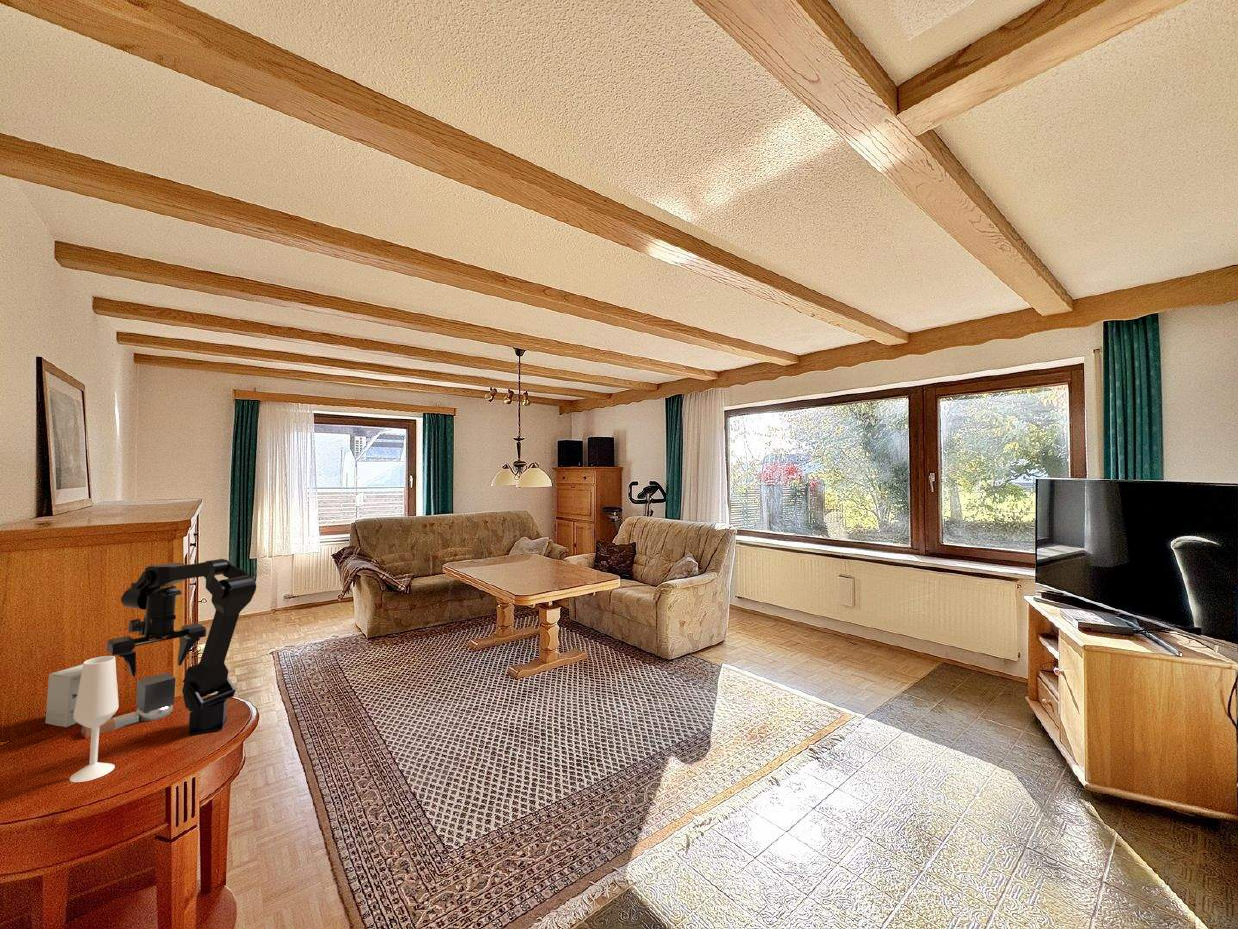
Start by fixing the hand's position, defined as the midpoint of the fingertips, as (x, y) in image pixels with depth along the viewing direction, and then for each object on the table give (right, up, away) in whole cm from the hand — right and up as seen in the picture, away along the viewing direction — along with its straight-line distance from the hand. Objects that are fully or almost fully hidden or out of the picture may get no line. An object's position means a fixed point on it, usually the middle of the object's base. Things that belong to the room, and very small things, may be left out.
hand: (156, 670), depth 131 cm
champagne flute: (+10, -12, -25) cm, 29 cm away
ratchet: (-3, -11, -4) cm, 13 cm away
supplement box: (-18, -11, -4) cm, 21 cm away
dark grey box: (0, -9, 0) cm, 9 cm away
